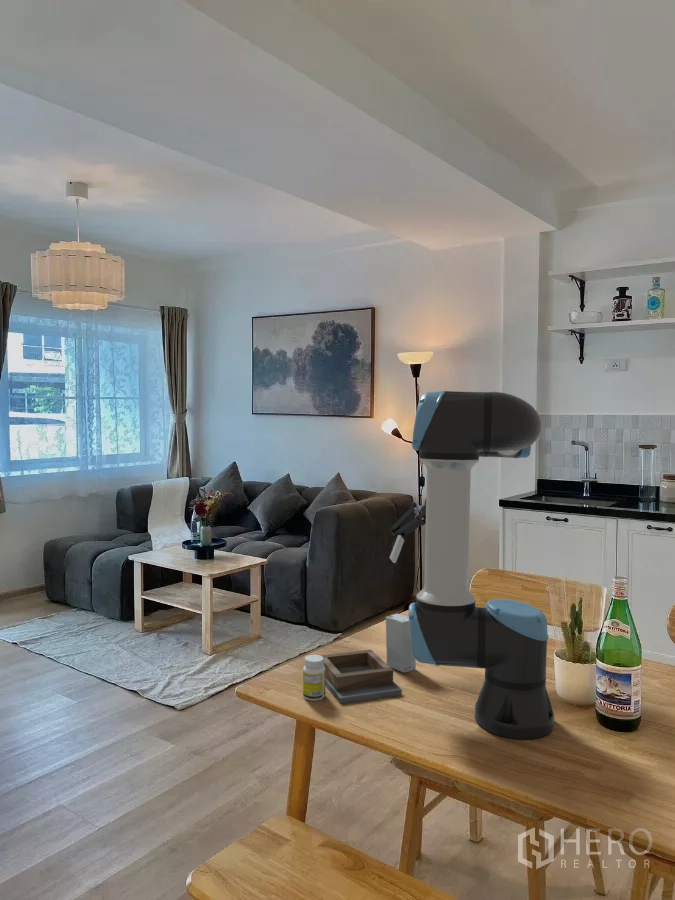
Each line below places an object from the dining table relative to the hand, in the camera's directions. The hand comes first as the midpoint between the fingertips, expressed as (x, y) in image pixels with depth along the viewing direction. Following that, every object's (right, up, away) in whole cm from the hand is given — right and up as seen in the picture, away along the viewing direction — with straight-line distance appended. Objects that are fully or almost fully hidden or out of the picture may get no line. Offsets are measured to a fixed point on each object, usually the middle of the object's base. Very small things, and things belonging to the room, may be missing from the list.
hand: (416, 565), depth 170 cm
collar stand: (-16, -24, -14) cm, 32 cm away
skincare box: (-5, -23, -6) cm, 24 cm away
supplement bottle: (-24, -24, -22) cm, 41 cm away
